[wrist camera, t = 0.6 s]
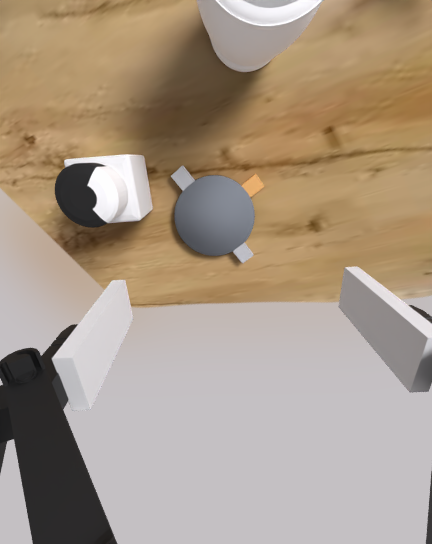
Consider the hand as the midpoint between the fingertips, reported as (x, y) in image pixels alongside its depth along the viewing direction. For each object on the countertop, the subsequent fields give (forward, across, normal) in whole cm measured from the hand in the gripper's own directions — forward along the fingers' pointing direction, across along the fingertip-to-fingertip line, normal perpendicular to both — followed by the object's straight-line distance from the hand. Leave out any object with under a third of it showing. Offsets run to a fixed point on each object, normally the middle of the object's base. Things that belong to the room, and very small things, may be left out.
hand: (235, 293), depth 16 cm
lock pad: (+24, 0, 0) cm, 24 cm away
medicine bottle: (+24, -13, +4) cm, 28 cm away
